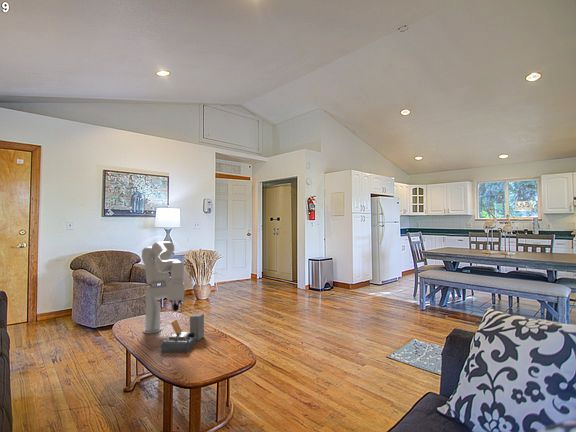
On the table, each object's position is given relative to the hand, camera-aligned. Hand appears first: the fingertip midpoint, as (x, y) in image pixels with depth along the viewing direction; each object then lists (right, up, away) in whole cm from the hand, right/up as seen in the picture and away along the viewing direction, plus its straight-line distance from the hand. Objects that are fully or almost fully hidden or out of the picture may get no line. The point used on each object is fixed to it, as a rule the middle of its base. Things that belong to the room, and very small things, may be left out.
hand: (175, 310), depth 189 cm
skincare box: (+9, -23, +14) cm, 29 cm away
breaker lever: (+3, -15, -1) cm, 15 cm away
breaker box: (+2, -23, -1) cm, 23 cm away
